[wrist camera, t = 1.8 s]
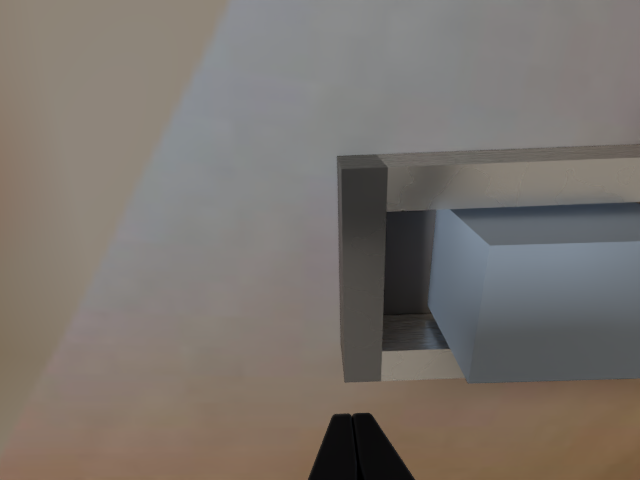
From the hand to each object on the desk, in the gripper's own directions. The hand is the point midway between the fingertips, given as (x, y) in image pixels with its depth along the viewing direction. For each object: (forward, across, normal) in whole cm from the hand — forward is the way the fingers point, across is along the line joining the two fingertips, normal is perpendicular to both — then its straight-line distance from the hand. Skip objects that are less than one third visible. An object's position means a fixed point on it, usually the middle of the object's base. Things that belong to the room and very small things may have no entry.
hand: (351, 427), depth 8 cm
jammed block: (+9, -8, 0) cm, 12 cm away
